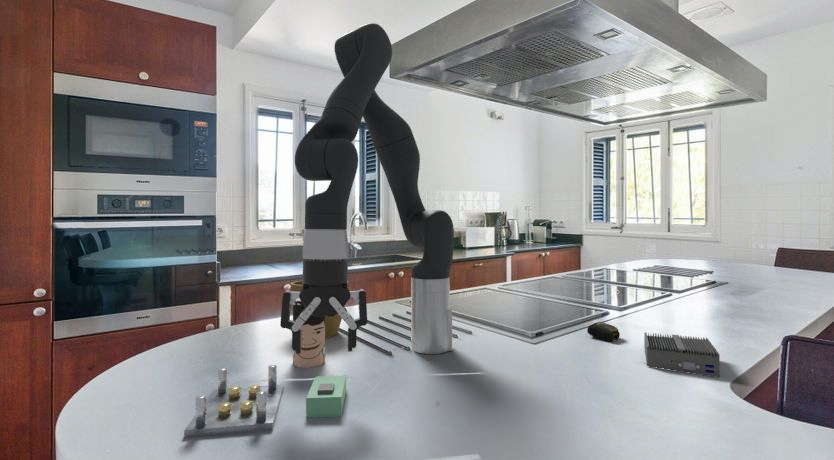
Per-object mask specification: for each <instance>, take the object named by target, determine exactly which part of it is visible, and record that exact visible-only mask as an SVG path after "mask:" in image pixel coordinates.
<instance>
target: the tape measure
mask: <svg viewBox="0 0 834 460" xmlns="http://www.w3.org/2000/svg"><path fill="white" fill-rule="evenodd" d="M586 332H587V334H588V335H590V336H592V337H593V338H594V339H598V340H600V341H604V342H606V343H609V342H610V343H613V342H614V341H613V340H616V341H617V340H618V339H619V338H620V332H619V329H618V327H616V326H615V325H611V324H608V323H605V322H593V323H592V324H590V325H588V327H587V331H586Z"/></svg>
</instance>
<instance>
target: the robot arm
mask: <svg viewBox="0 0 834 460" xmlns="http://www.w3.org/2000/svg"><path fill="white" fill-rule="evenodd" d="M392 47H393V46H392V43H391V39H390V37H389V35H388V33H387V32H386V30H385V29H384V28H383V27H382V26H381V25H379V24H378V23H375V22H369V23H367V24H362V25H361V26H359V27H357V28H355V29H353V30H351V31H348V32H347V33H345V34H343V35H341V36H339V37H337V39H336V40H335V42H334V47H333V48H334V55H335V58H336V61H337V64H338V67H339V69H340V71H341V73H342V75H343V76H342V77H343V79H341V81H339V83H338V84H337V85H336V87H335V88H334V89H333V90H332V92H331V93H330V95H329V97H328V99H327V101H326V103H325V105H324V108H323V111H322V113H321V115H320V119H318V120H317V122H315V123H314V124H313V126H312V127H311V128H310V129H309V130H308V131H307V132H306V134H305V135H304V136H303V137H302V139H301V140H300V141H299V143H298V144H297V147H296V150H295V154H294V166H295V169H296V172H297V173H298V175H299V176H300V177H302V179H304V180H307V181H310V182H323V181H325V182H326V181H328V182H329V181H330V182H329V184H328V186H327V188H326V189H325V190H324V191H323V192H321V193H320V192H319V193H317V194H316V193H315V194H313V195H309V196H308V197H307V198H306V200H305V204H304V205H305V206H304V208H305V209H304V234H303V242H302V252H301V253H302V254H301V255H302V281H303V286H302V290H301V292H292V291H291V290H289V289H286V290H285V291H284V292H283V293H282V299H281V313H280V327H281V328H282V329H287V330H290V331H291V348H292V352H293V351H294V350H296V354H301V336H302V329H300V327H301V326H302V325H303V324H304V322H305V321H306V320H307V319H308V317H309V316H310V315H311V314H312V315H313V316H315V317H321V316H329V317H334V316H335V315H337V314H339V315H340V316H341V318H342V320H343V321H344V322H345V323H346V325H347V326H348V327H347V352H353V349H355V348H356V347H357V331H358V328H360V327H364V326H366V325H368V311H367V309H368V308H367V307H368V306H367V292H366V291H365V289H364V288H360V289H359V290H350V289H349V282H348V281H349V279H348V278H349V275H348V274H349V239H348V231H347V230H348V204H349V200H350V196H351V192H352V188H353V184H354V181H355V178H356V175H357V171H358V167H359V154H358V150H357V148H356V146H355V144H354V143H353V142H354V140H355V139H356V137H357V135H358V132H359V129H360V126H361V122H362V120H364V123H365V125H366V128H367V131H368V133H369V136H370V139H371V141H372V144H373V148H374V150H375V152H376V153H375V154H376V155H377V157H378V160H379V162H380V165H381V167H382V169H383V172H384V174H385V177H386V180H387V183H388V184H389V185H388V186H389V188H390V191H391V193H392V196H393V199H394V202H395V205H396V209H397V214H398V216H399V221H400V223H401V227H402V230H403V234H404V237H405V238H406V240H407V242H408V243H409V244H410V245H411V246H412V247H414V248H416V249H423V252H422V253H423V255H422V258H421V259H420V261H419V262H417V263H415V264H413V265H412V266H411V268H410V271H411V272H410V277H411V278H410V285H411V286H410V291H411V292H410V293H411V294H410V297H411V298H410V299H411V301H410V303H411V304H410V306H411V307H410V308H411V309H410V318H411V319H410V320H411V322H410V324H411V325H410V327H411V328H410V330H411V331H410V337H411V338H410V344H411V347H410V348H411V350H412V351H413V352H414V353H419V354H425V355H426V354H427V355H435V354H436V355H439V354H444V353H447V352H453V311H452V309H450V305H451V304H450V303H451V302H450V301H451V300H450V292H451V291H450V288H451V287H450V281H451V280H450V278H451V277H450V273H451V268H452V265H453V260H454V244H455V243H454V242H455V241H454V240H455V231H454V230H455V228H454V224H453V220H452V217H451V216H450V215H449V214H448V213H447V211H445V210H440V209H437V210H435V209H434V210H433V209H432V210H431V209H430V210H427V209H426V208H425V206H424V204H423V201H422V197H421V195H420V191H419V174H420V173H419V172H420V167H421V156H420V151H419V147H418V145H417V141H416V139H415V136H414V133H413V131H412V129H411V126H410V125H409V123H408V122H407V121H406V120H405V119H404V118H403V117H402V116H401V115H400V114H399V113H397V112H396V111H395V110H394V109H393V108H391V107H390V106H389V105H388V104H387V103H385V102H384V101H383V99H382V98H381V97H380V95H378V93H377V91H376V90H375V89H376V88H377V86H378V84H379V82H380V80H381V79H382V77H383V75H384V73H385V72H386V71H387V69H388V67H389V65H390V64H391V61H392V59H393V48H392ZM297 298H300V300H301V301H302V303H303V304H304V305H305V307H306V308H305V309H304V310H303V312H302V313H301V314H300V316H299V317H298V318H297V319H296V321H293V319H291V318H290V317H291V309H292V307H291V306H293V304H294V303H295V301H296V299H297ZM350 298H352V299H353V301H354V303H355V304H358V315H359V317H358V318H354V317H353V316H352V315H351V314H350V312H349V311H348V309H347V308H346V304H347V303H348V301H349V300H350ZM344 306H345V307H344Z"/></svg>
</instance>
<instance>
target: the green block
mask: <svg viewBox="0 0 834 460" xmlns="http://www.w3.org/2000/svg"><path fill="white" fill-rule="evenodd" d="M346 395H347V375H325V376H324V375H321V376H320V375H319V376H318V375H317V376H315V377H314V379H313V382H312V383H311V385H310V389H309V391H308V393H307V396H306V397H305V399H306V400H305V405H306V406H305V410H306V411H305V413H306V414H305V417H306V418H323V417H342V414H343V409H344V404H345V400H346Z"/></svg>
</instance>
